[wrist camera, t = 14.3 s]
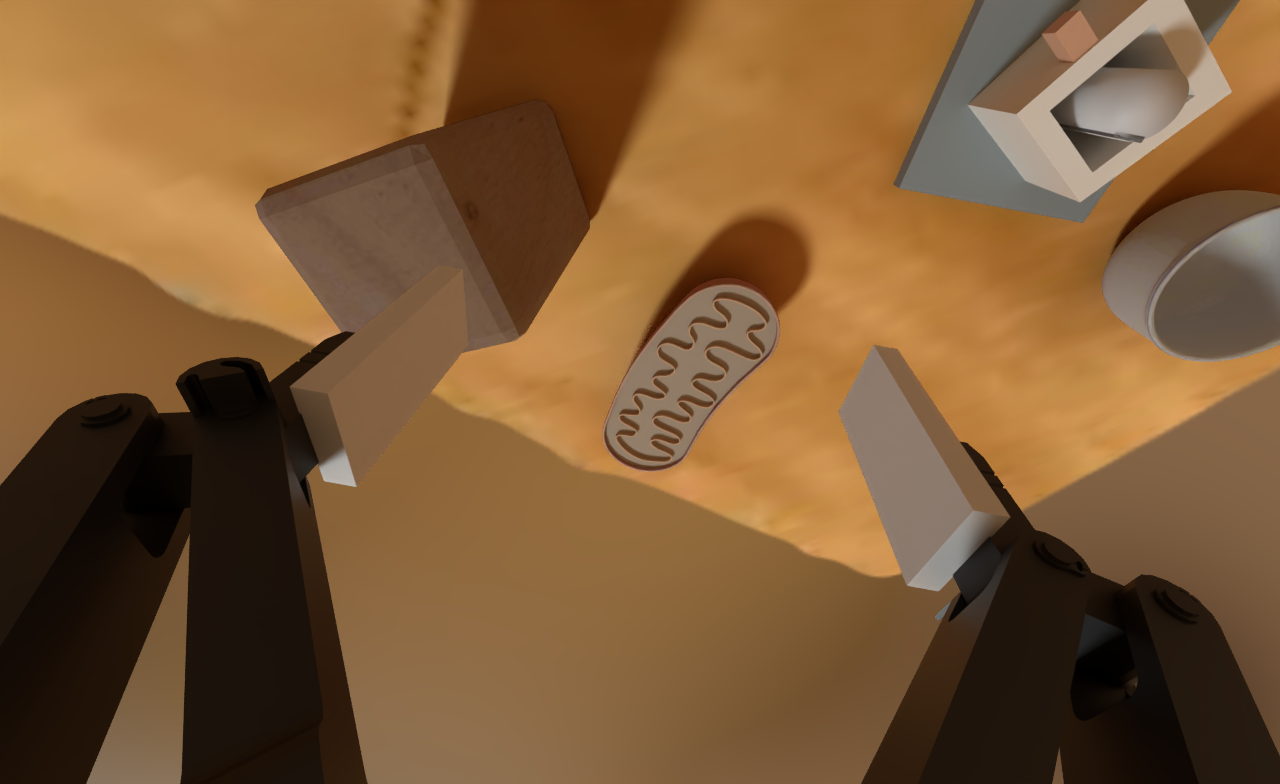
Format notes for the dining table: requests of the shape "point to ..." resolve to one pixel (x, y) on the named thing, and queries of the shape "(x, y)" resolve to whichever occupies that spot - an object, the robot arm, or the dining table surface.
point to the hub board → (964, 135)
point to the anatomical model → (689, 372)
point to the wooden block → (439, 221)
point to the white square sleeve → (1066, 57)
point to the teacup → (1202, 276)
